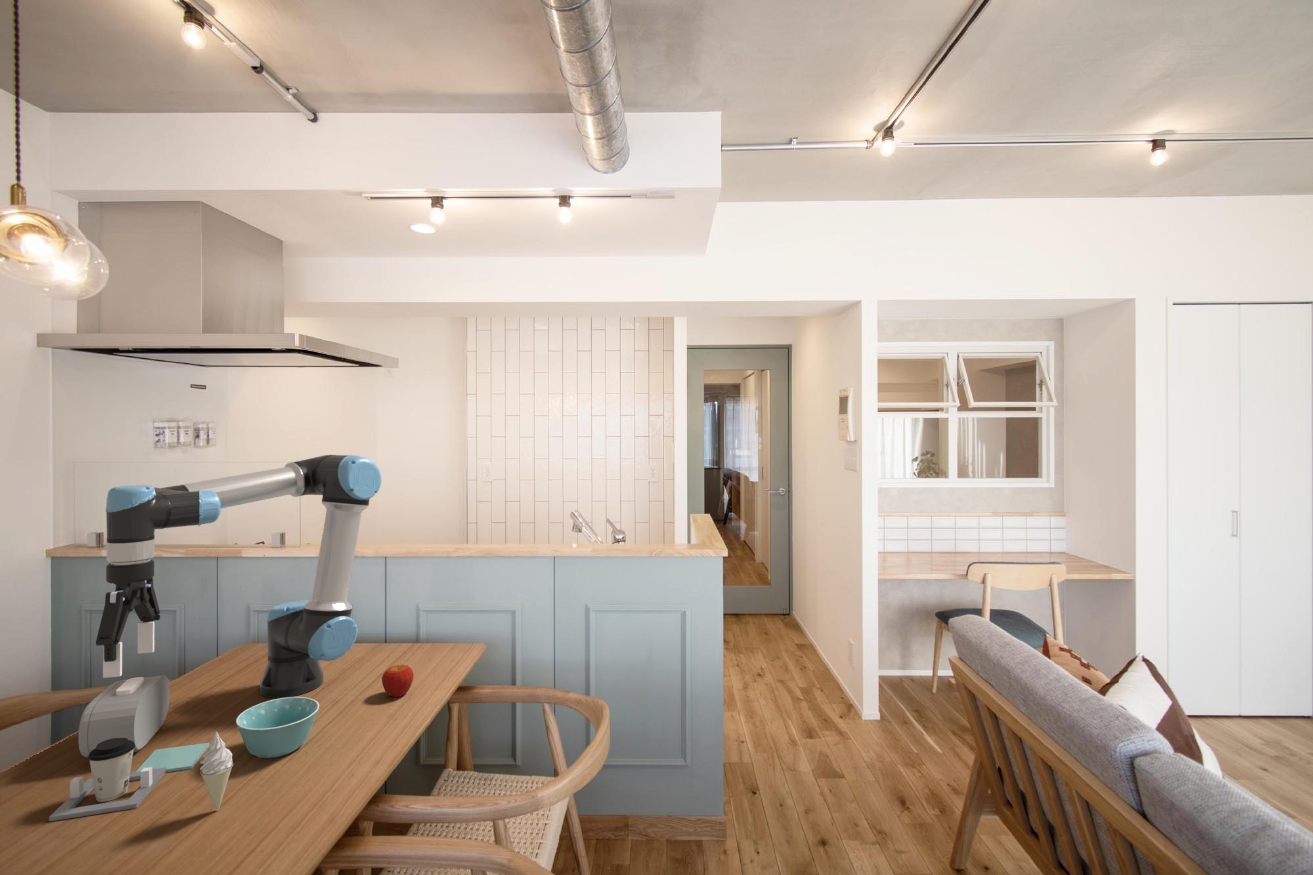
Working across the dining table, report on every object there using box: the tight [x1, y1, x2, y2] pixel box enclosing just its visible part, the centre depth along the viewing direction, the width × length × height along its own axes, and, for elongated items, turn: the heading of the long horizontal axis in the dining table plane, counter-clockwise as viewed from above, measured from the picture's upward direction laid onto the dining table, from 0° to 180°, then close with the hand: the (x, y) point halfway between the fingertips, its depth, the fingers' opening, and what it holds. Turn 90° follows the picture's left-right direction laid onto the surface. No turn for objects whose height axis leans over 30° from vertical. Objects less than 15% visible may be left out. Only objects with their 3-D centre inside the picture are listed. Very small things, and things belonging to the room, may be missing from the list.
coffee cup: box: [87, 738, 135, 803], centre depth 119 cm, size 7×7×10 cm
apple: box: [381, 664, 415, 698], centre depth 165 cm, size 8×8×8 cm
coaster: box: [135, 742, 210, 773], centre depth 131 cm, size 10×10×1 cm
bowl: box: [235, 696, 320, 759], centre depth 137 cm, size 16×16×8 cm
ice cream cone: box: [199, 730, 234, 812], centre depth 114 cm, size 5×5×15 cm
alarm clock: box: [78, 675, 170, 758], centre depth 138 cm, size 21×10×13 cm, turn 22°
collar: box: [48, 767, 167, 822], centre depth 119 cm, size 13×13×4 cm
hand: (130, 664), depth 126 cm, fingers open, 13 cm apart
